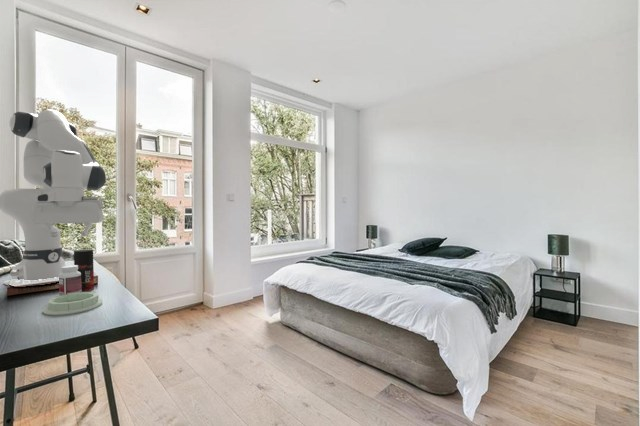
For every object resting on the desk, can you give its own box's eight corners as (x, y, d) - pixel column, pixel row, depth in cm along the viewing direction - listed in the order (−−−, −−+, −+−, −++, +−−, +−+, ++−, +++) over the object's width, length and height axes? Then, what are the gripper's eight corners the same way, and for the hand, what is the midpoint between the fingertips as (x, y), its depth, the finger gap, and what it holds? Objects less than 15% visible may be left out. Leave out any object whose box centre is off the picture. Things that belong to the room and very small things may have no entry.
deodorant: (83, 291, 119) (82, 251, 118) (70, 291, 120) (69, 251, 119) (97, 287, 124) (97, 249, 124) (85, 286, 126) (84, 249, 125)
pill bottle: (85, 294, 115) (84, 264, 115) (76, 299, 109) (75, 267, 109) (65, 295, 114) (64, 265, 114) (55, 300, 108) (54, 268, 108)
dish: (30, 312, 96) (30, 302, 96) (81, 298, 111) (81, 289, 111) (65, 317, 92) (64, 307, 92) (113, 302, 106) (113, 293, 106)
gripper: (105, 197, 116) (106, 234, 116) (39, 197, 111) (40, 236, 111) (98, 196, 110) (99, 236, 110) (28, 196, 105) (29, 238, 105)
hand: (69, 236), depth 111 cm, fingers open, 8 cm apart
